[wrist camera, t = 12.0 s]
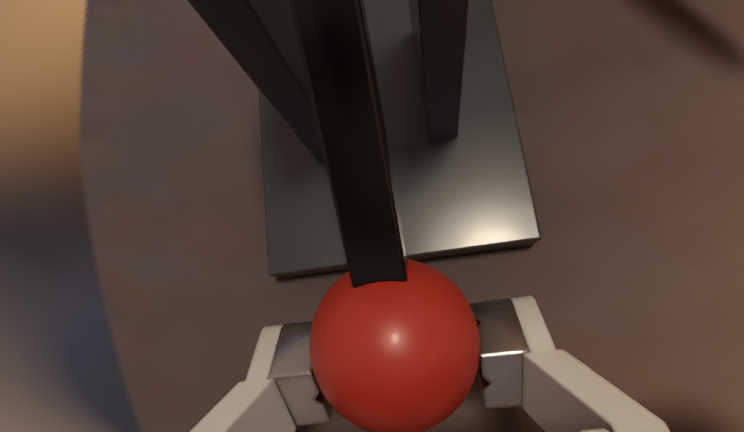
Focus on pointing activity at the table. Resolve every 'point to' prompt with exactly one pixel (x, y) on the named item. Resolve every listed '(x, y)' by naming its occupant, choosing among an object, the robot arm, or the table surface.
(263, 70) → the switch bracket
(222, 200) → the table surface
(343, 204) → the switch lever
